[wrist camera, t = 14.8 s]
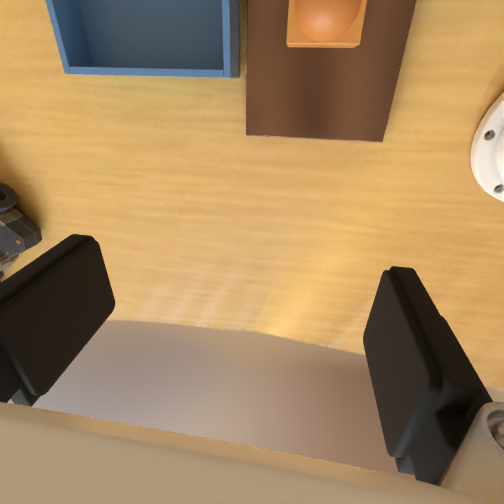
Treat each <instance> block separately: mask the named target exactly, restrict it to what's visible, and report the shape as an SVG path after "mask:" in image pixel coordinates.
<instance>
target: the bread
mask: <svg viewBox="0 0 504 504" xmlns="http://www.w3.org/2000/svg"><path fill="white" fill-rule="evenodd" d="M366 6H367V0H289V9H288V24H287V40H286V44H287V45H288V47H311V48H354V47H356V46H358V45H359V44H360V41H361V35H362V29H363V23H364V17H365V11H366Z"/></svg>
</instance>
